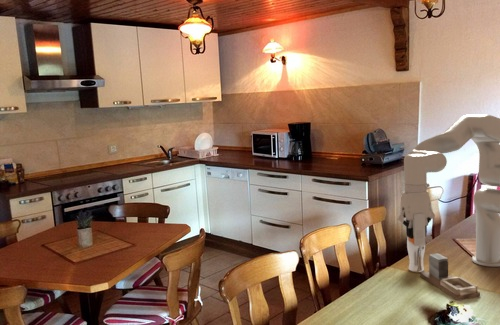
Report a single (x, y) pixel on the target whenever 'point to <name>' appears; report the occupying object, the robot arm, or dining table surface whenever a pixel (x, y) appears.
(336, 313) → the dining table surface
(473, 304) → the dining table surface
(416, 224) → the skincare box
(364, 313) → the dining table surface
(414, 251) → the beer glass
